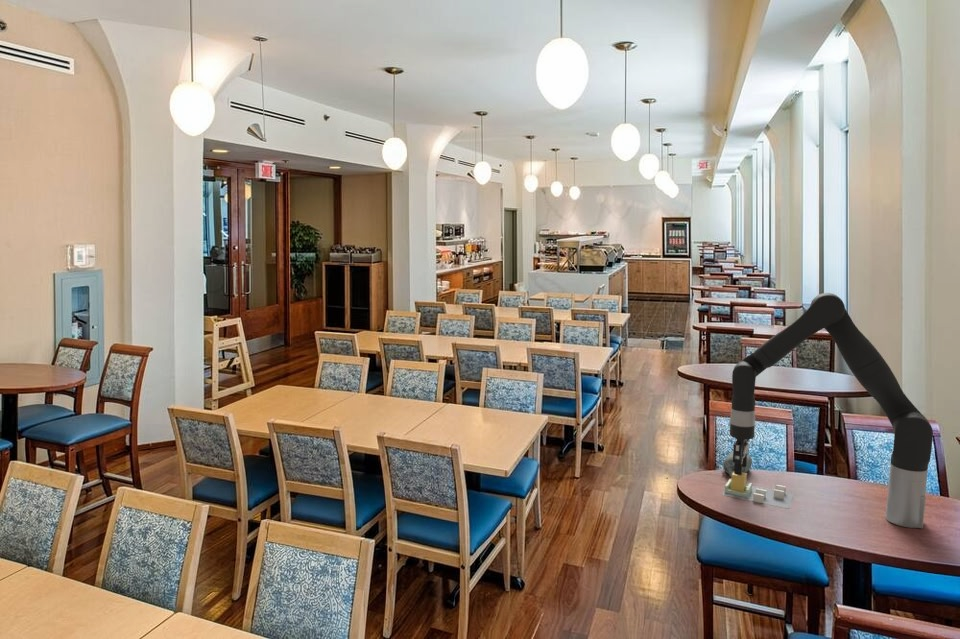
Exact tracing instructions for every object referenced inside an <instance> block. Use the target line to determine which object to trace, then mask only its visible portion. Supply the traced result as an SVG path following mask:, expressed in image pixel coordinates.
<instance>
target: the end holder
mask: <svg viewBox="0 0 960 639" xmlns="http://www.w3.org/2000/svg"><path fill="white" fill-rule="evenodd" d="M747 485H748V486H746V493H744V492H739V491H734V490H729V489H730V488H731V478H729V479H728V480H727V482H726V483H725V487H724V491H725V493H730V494H734V495H739V496H744V497H748V496H749V494H750V493H751V491H752V486H753V483H752V482H749V483H748V484H747Z"/></svg>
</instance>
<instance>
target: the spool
mask: <svg viewBox="0 0 960 639" xmlns="http://www.w3.org/2000/svg"><path fill="white" fill-rule="evenodd" d="M736 459H738V460H739V457H737V458H736ZM752 464H753V458H752V457H751V455H750V454H749V453H748V456H747V466H746V467H742V473H747V472H748V471H749V470H750V468H751V467H752ZM722 465H723V466H722V467H723V470H724V471H725V472H726V474H728V476H730V477H732V473H733V472H734V463H733V451H731V452H729V454H727V456H726V457H725V458H724V460H723V464H722Z"/></svg>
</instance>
